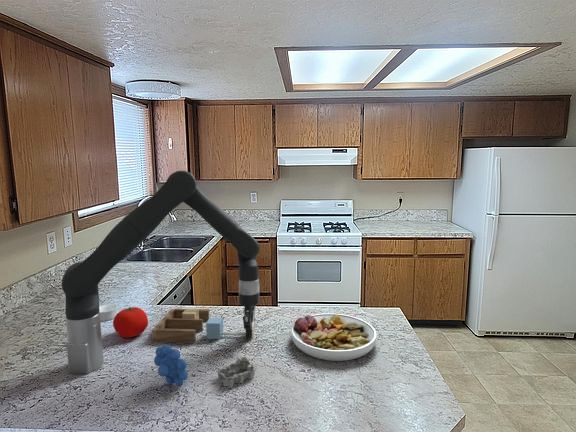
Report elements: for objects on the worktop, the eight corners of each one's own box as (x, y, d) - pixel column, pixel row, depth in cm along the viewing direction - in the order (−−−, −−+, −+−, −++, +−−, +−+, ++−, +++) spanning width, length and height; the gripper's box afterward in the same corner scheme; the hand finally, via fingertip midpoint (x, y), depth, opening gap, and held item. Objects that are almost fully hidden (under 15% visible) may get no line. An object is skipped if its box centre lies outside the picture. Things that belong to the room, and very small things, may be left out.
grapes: (145, 387, 109) (142, 348, 107) (161, 375, 115) (159, 338, 113) (177, 397, 104) (175, 356, 103) (193, 384, 110) (191, 345, 109)
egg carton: (246, 367, 120) (246, 355, 119) (258, 378, 114) (258, 366, 113) (215, 377, 114) (214, 364, 114) (225, 390, 108) (225, 376, 107)
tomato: (134, 325, 150) (132, 300, 148) (155, 332, 144) (153, 306, 142) (108, 337, 140) (106, 310, 139) (129, 345, 134) (127, 317, 132)
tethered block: (252, 340, 137) (252, 324, 136) (206, 338, 138) (206, 323, 137) (254, 333, 142) (254, 318, 141) (210, 332, 143) (209, 317, 142)
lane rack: (194, 343, 135) (194, 331, 135) (152, 341, 136) (151, 330, 136) (209, 319, 155) (209, 309, 154) (172, 318, 156) (172, 308, 155)
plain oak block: (195, 328, 147) (194, 313, 147) (182, 328, 148) (182, 313, 147) (199, 322, 152) (198, 308, 152) (186, 322, 153) (186, 308, 152)
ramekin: (89, 321, 154) (89, 311, 154) (105, 312, 163) (104, 303, 162) (108, 323, 152) (107, 313, 152) (122, 314, 161) (122, 304, 160)
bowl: (377, 330, 146) (378, 310, 145) (373, 371, 117) (374, 347, 116) (302, 321, 154) (302, 303, 153) (281, 358, 125) (280, 336, 124)
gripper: (256, 297, 130) (257, 345, 132) (261, 284, 144) (262, 327, 146) (234, 297, 130) (236, 344, 133) (242, 284, 144) (243, 327, 147)
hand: (249, 335), depth 140 cm, fingers closed on tethered block, 3 cm apart
